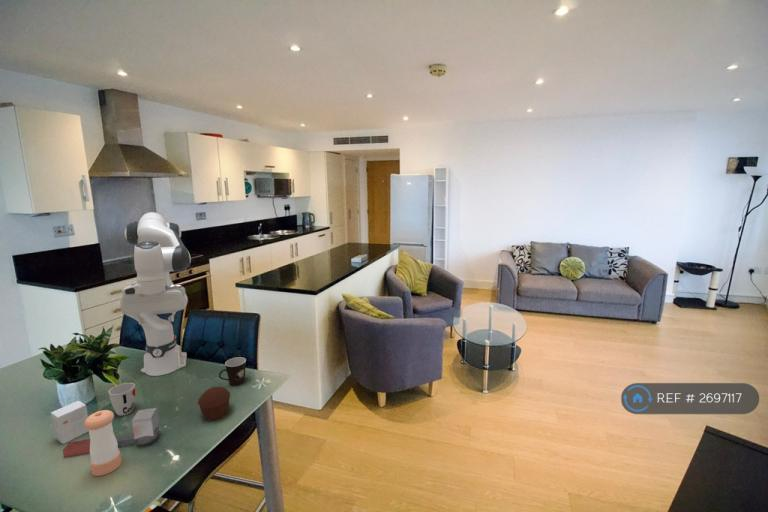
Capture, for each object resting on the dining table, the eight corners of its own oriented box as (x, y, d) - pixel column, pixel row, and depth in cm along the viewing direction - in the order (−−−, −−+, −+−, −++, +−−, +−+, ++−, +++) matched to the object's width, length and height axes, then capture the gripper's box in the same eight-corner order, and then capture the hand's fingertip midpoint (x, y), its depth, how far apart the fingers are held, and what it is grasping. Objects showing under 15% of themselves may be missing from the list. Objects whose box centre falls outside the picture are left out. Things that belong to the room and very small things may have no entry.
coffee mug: (245, 375, 160) (244, 355, 158) (248, 384, 152) (247, 363, 150) (218, 382, 154) (216, 361, 152) (220, 391, 146) (218, 370, 145)
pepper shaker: (116, 472, 104) (107, 416, 100) (87, 478, 102) (77, 422, 98) (125, 455, 111) (117, 402, 107) (98, 461, 108) (88, 407, 105)
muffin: (210, 403, 138) (208, 381, 136) (236, 404, 138) (235, 382, 136) (192, 422, 127) (190, 398, 125) (221, 424, 126) (219, 400, 124)
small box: (83, 425, 125) (79, 399, 123) (91, 430, 122) (86, 404, 120) (55, 439, 118) (49, 412, 116) (62, 445, 115) (57, 417, 113)
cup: (124, 419, 128) (120, 395, 126) (106, 416, 130) (102, 393, 128) (143, 406, 136) (140, 383, 134) (126, 403, 137) (123, 381, 136)
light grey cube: (140, 428, 119) (138, 410, 118) (159, 425, 121) (156, 407, 119) (134, 439, 114) (131, 420, 113) (153, 435, 116) (151, 417, 114)
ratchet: (73, 446, 115) (70, 430, 114) (162, 430, 122) (161, 416, 121) (60, 461, 108) (57, 445, 107) (156, 444, 116) (154, 429, 115)
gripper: (186, 282, 129) (190, 316, 132) (123, 286, 123) (128, 322, 126) (182, 286, 123) (186, 322, 126) (115, 291, 117) (121, 328, 120)
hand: (156, 322), depth 126 cm, fingers open, 8 cm apart
